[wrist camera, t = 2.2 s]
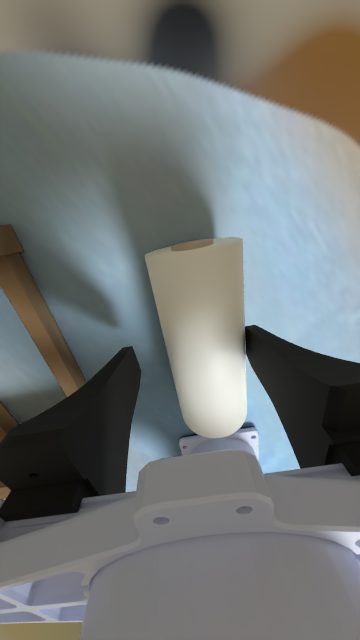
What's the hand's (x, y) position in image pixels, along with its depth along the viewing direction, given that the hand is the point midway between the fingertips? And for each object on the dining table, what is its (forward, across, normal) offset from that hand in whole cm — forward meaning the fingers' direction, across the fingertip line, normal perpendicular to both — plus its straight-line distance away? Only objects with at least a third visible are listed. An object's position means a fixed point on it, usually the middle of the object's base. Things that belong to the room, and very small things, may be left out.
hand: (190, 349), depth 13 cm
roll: (0, -1, 0) cm, 1 cm away
